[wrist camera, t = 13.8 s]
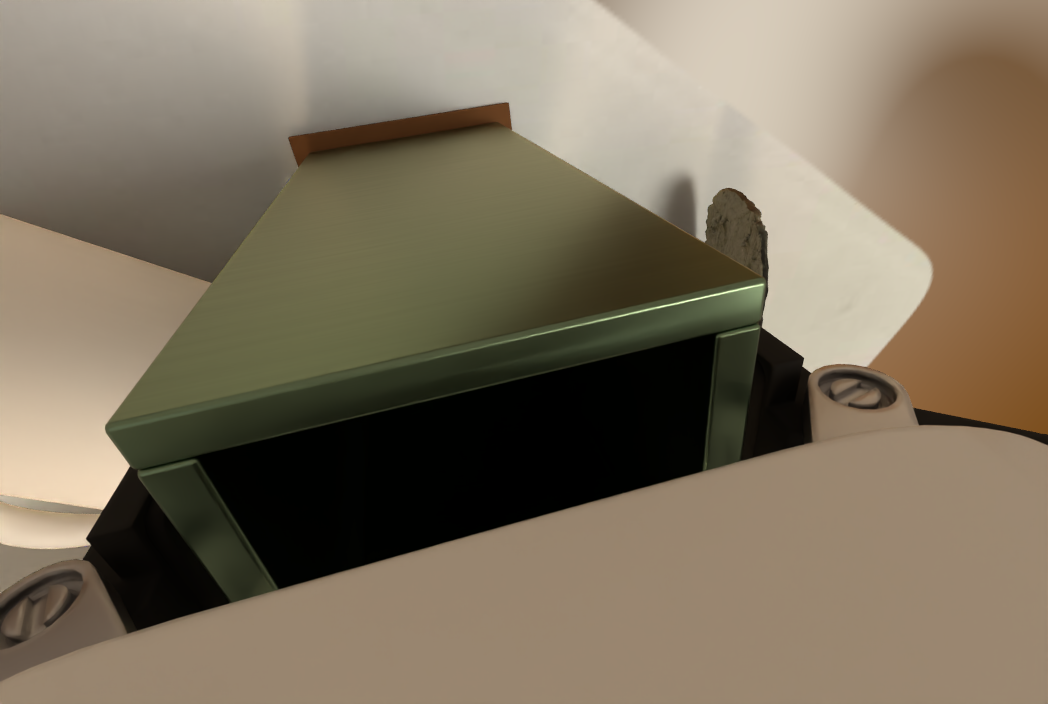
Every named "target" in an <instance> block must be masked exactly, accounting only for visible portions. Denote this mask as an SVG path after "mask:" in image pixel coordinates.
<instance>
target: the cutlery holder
mask: <svg viewBox="0 0 1048 704" xmlns="http://www.w3.org/2000/svg"><path fill="white" fill-rule="evenodd" d="M766 284H767V283H766V280H765V278H764V277H762V276H761V275H759V274H757V273H755V272H754V271H752V270H750V269H749V268H747V267H745V266H743V265H742V264H740V263H738V262H737V261H735V260H733V259H731V258H730V257H728V256H726V255H725V254H723V253H721V252H719V251H718V250H716V249H714V248H713V247H711V246H709V245H707V244H706V243H704V242H702V241H701V240H699V239H697V238H695V237H694V236H692V235H690V234H689V233H687V232H685V231H683V230H682V229H680V228H678V227H677V226H675V225H673V224H671V223H670V222H668V221H666V220H665V219H663V218H661V217H660V216H658V215H656V214H654V213H653V212H651V211H649V210H648V209H646V208H644V207H642V206H641V205H639V204H637V203H636V202H634V201H632V200H630V199H629V198H627V197H625V196H624V195H622V194H620V193H618V192H617V191H615V190H613V189H612V188H610V187H608V186H606V185H605V184H603V183H601V182H600V181H598V180H596V179H594V178H593V177H591V176H589V175H588V174H586V173H584V172H582V171H581V170H579V169H577V168H576V167H574V166H572V165H570V164H569V163H567V162H565V161H564V160H562V159H560V158H558V157H557V156H555V155H553V154H552V153H550V152H548V151H546V150H545V149H543V148H541V147H540V146H538V145H536V144H534V143H533V142H531V141H529V140H528V139H526V138H524V137H522V136H521V135H519V134H517V133H516V132H514V131H512V130H510V129H509V128H507V127H505V126H504V125H502V124H500V123H498V122H494V123H488V124H481V125H475V126H469V127H463V128H457V129H451V130H445V131H438V132H432V133H426V134H420V135H414V136H408V137H401V138H395V139H389V140H383V141H377V142H371V143H365V144H358V145H352V146H346V147H340V148H334V149H328V150H321V151H315V152H310V153H309V154H308V155H307V157H306V158H305V159H304V161H303V162H302V163H301V165H300V166H299V167H298V169H297V170H296V171H295V173H294V174H293V175H292V177H291V178H290V179H289V181H288V182H287V183H286V185H285V186H284V187H283V189H282V190H281V191H280V193H279V194H278V195H277V197H276V198H275V199H274V201H273V202H272V203H271V205H270V206H269V207H268V209H267V210H266V211H265V213H264V214H263V215H262V217H261V218H260V219H259V221H258V222H257V223H256V225H255V226H254V227H253V229H252V230H251V231H250V233H249V234H248V235H247V237H246V238H245V239H244V241H243V242H242V243H241V245H240V246H239V247H238V249H237V250H236V251H235V253H234V254H233V255H232V257H231V258H230V259H229V261H228V262H227V263H226V265H225V266H224V267H223V269H222V270H221V271H220V273H219V274H218V275H217V277H216V278H215V279H214V281H213V282H212V283H211V285H210V286H209V287H208V289H207V290H206V291H205V293H204V294H203V295H202V297H201V298H200V299H199V301H198V302H197V303H196V305H195V306H194V307H193V309H192V310H191V311H190V313H189V314H188V315H187V317H186V318H185V319H184V321H183V322H182V323H181V325H180V326H179V327H178V329H177V330H176V331H175V333H174V334H173V335H172V337H171V338H170V339H169V341H168V342H167V343H166V345H165V346H164V347H163V349H162V350H161V351H160V353H159V354H158V355H157V357H156V358H155V359H154V361H153V362H152V363H151V365H150V366H149V367H148V369H147V370H146V371H145V373H144V374H143V375H142V377H141V378H140V379H139V381H138V382H137V383H136V385H135V386H134V387H133V389H132V390H131V391H130V393H129V394H128V395H127V397H126V398H125V399H124V401H123V402H122V403H121V405H120V406H119V407H118V409H117V410H116V411H115V413H114V414H113V415H112V417H111V418H110V419H109V421H108V422H107V423H106V425H105V431H106V434H107V435H108V436H109V438H110V439H111V441H112V442H113V443H114V445H115V446H116V447H117V449H118V450H119V451H120V453H121V454H122V456H123V457H124V458H125V460H126V461H127V462H128V464H129V465H130V467H132V468H133V469H138V478H139V479H140V481H141V482H142V483H143V485H144V486H145V487H146V489H147V490H148V491H149V493H150V494H151V496H152V497H153V498H154V500H155V501H156V502H157V504H158V505H159V507H160V508H161V509H162V511H163V512H164V513H165V515H166V516H167V517H168V519H169V520H170V522H171V523H172V524H173V526H174V527H175V528H176V530H177V531H178V532H179V534H180V535H181V537H182V538H183V539H184V541H185V542H186V543H187V545H188V546H189V547H190V549H191V550H192V552H193V553H194V554H195V556H196V557H197V558H198V560H199V561H200V563H201V564H202V565H203V567H204V568H205V569H206V571H207V572H208V573H209V575H210V576H211V578H212V579H213V580H214V582H215V583H216V584H217V586H218V587H219V588H220V590H221V591H222V593H223V594H224V595H225V597H226V598H227V599H228V601H229V602H230V603H233V602H237V601H240V600H244V599H247V598H251V597H254V596H258V595H261V594H265V593H268V592H272V591H276V590H279V589H283V588H286V587H290V586H293V585H297V584H300V583H304V582H307V581H311V580H314V579H318V578H321V577H325V576H328V575H332V574H335V573H339V572H343V571H346V570H350V569H353V568H357V567H360V566H364V565H367V564H371V563H374V562H378V561H381V560H385V559H388V558H392V557H396V556H399V555H403V554H406V553H410V552H413V551H417V550H420V549H424V548H428V547H431V546H435V545H438V544H442V543H445V542H449V541H453V540H456V539H460V538H463V537H467V536H471V535H474V534H478V533H481V532H485V531H488V530H492V529H496V528H499V527H503V526H506V525H510V524H514V523H517V522H521V521H524V520H528V519H532V518H535V517H539V516H542V515H546V514H550V513H553V512H557V511H560V510H564V509H568V508H571V507H575V506H579V505H582V504H586V503H589V502H593V501H597V500H600V499H604V498H608V497H611V496H615V495H619V494H622V493H626V492H630V491H633V490H637V489H640V488H644V487H648V486H651V485H655V484H659V483H662V482H666V481H670V480H673V479H677V478H681V477H684V476H688V475H692V474H695V473H699V472H703V471H706V470H710V469H714V468H717V467H721V466H725V465H729V464H732V463H736V462H740V461H741V455H742V448H743V442H744V435H745V428H746V422H747V415H748V408H749V402H750V395H751V388H752V382H753V375H754V368H755V362H756V355H757V348H758V342H759V335H760V329H761V328H760V325H759V323H758V322H759V321H760V320H761V318H762V311H763V305H764V298H765V291H766Z"/></svg>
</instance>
